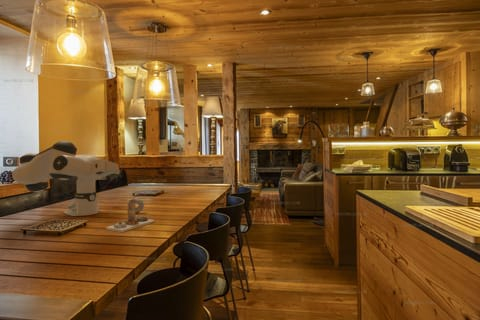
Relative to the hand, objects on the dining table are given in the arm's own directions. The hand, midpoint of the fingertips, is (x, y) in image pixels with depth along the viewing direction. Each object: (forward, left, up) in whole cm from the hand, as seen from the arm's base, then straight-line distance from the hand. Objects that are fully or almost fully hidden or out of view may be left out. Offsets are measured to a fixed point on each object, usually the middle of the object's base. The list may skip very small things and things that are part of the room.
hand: (111, 175), depth 155 cm
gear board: (+3, +11, -29) cm, 31 cm away
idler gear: (+3, +11, -28) cm, 30 cm away
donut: (-19, +36, -29) cm, 50 cm away
